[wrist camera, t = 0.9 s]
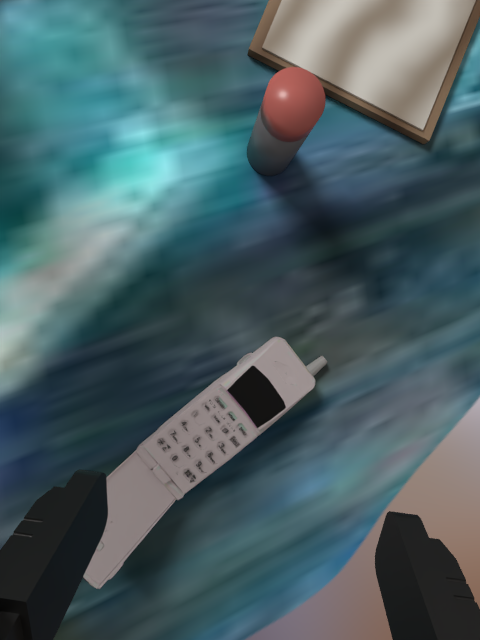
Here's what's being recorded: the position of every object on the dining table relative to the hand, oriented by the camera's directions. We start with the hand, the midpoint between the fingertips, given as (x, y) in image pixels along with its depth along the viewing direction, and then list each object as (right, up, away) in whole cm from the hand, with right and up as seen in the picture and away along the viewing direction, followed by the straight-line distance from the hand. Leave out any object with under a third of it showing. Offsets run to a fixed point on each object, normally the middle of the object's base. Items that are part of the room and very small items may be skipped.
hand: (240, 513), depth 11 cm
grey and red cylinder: (+3, +20, +23) cm, 31 cm away
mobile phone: (-3, -4, +24) cm, 24 cm away
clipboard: (+12, +34, +24) cm, 43 cm away
